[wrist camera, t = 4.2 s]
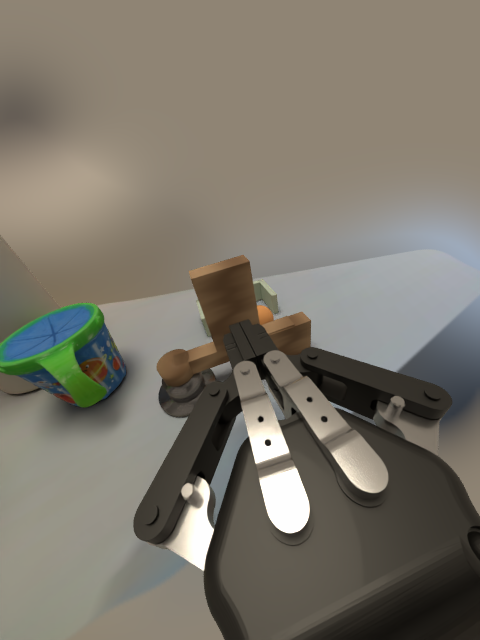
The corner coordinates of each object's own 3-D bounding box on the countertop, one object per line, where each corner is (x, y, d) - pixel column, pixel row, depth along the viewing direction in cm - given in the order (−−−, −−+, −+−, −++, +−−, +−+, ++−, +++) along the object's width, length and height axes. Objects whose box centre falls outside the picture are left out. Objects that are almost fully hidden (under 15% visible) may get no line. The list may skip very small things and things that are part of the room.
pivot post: (160, 426, 23) (149, 413, 22) (160, 377, 29) (151, 364, 27) (222, 403, 24) (216, 388, 22) (210, 360, 30) (205, 345, 28)
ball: (253, 342, 31) (249, 320, 29) (244, 326, 34) (240, 305, 32) (279, 332, 31) (277, 310, 29) (268, 318, 35) (265, 297, 32)
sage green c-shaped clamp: (207, 336, 34) (201, 319, 32) (202, 316, 38) (196, 300, 36) (278, 312, 35) (276, 294, 33) (264, 296, 40) (262, 279, 38)
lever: (174, 406, 25) (108, 309, 16) (173, 382, 28) (115, 289, 19) (313, 353, 27) (317, 244, 19) (299, 336, 30) (296, 235, 22)
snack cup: (59, 371, 34) (5, 321, 28) (126, 337, 38) (92, 287, 31) (57, 459, 23) (-36, 407, 17) (152, 398, 27) (106, 337, 20)
